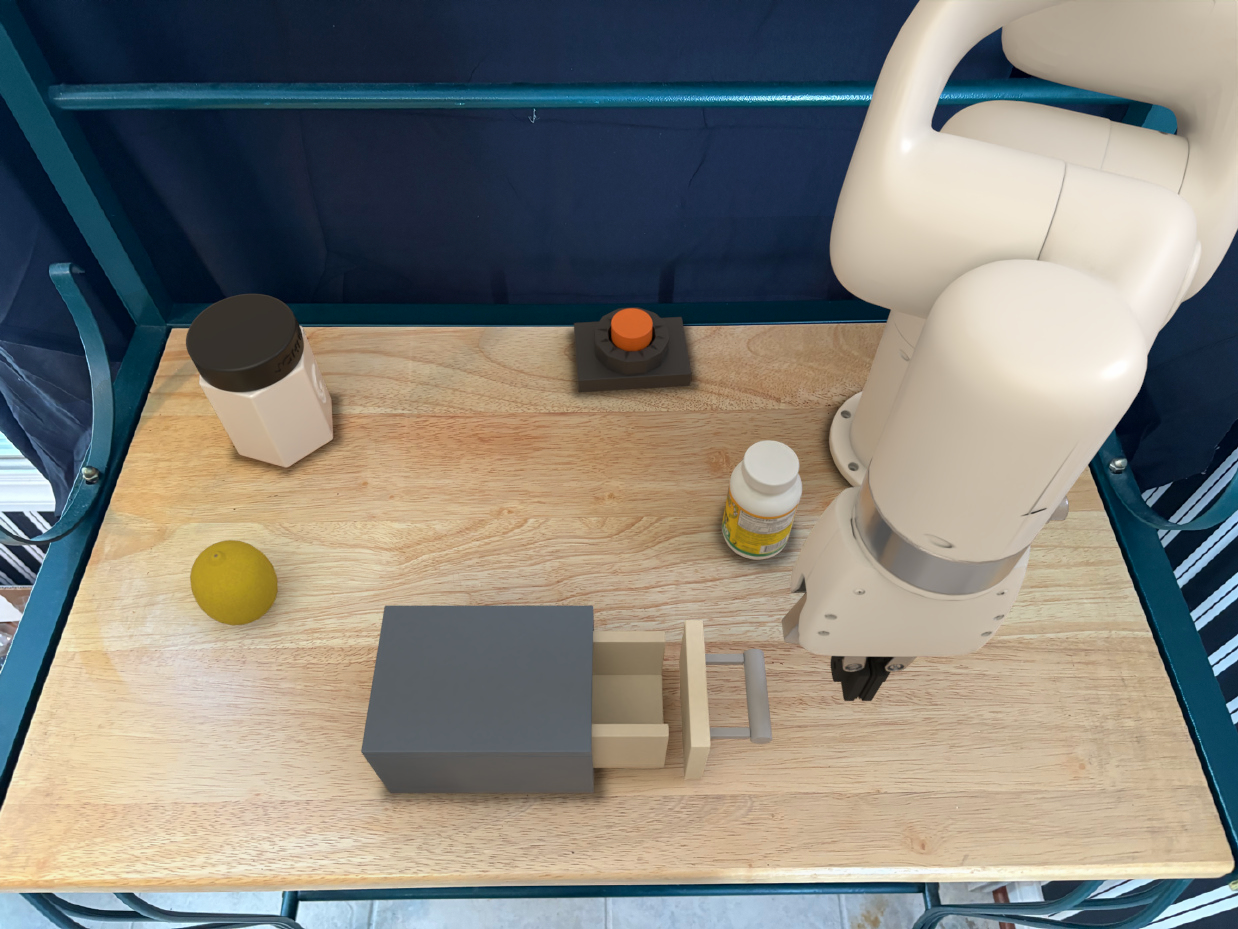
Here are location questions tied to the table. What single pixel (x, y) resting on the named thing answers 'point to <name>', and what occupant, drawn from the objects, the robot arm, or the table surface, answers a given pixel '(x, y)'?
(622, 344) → the button
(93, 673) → the table surface
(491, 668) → the cabinet
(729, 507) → the supplement bottle
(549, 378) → the table surface
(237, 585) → the lemon
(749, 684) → the drawer
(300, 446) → the jar
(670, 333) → the control block
